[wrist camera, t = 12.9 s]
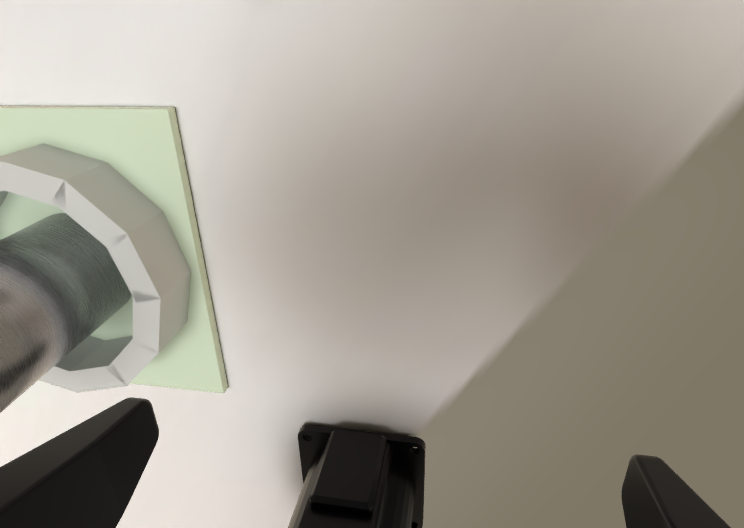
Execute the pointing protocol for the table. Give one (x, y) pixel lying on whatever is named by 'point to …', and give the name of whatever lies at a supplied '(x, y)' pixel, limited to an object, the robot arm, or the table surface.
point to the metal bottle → (51, 298)
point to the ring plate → (160, 180)
